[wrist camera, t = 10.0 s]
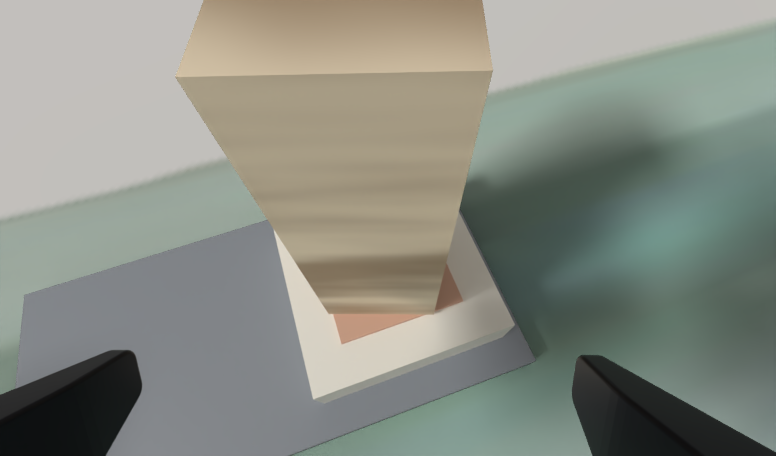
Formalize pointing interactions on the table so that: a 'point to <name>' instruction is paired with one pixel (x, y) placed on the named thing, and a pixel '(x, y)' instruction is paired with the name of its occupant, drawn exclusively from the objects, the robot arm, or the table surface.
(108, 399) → the robot arm
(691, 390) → the table surface
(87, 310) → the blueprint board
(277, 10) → the maple pillar
